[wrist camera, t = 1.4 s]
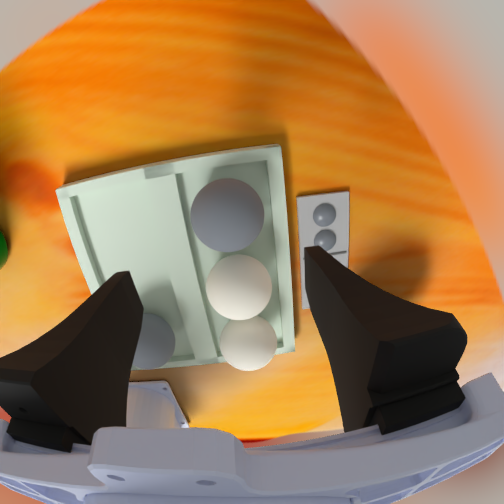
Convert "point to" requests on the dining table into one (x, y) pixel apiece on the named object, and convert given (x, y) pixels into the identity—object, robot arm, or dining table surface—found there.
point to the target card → (323, 228)
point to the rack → (180, 242)
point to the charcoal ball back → (154, 343)
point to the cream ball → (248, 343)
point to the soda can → (3, 250)
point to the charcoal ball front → (227, 215)
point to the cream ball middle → (238, 287)
